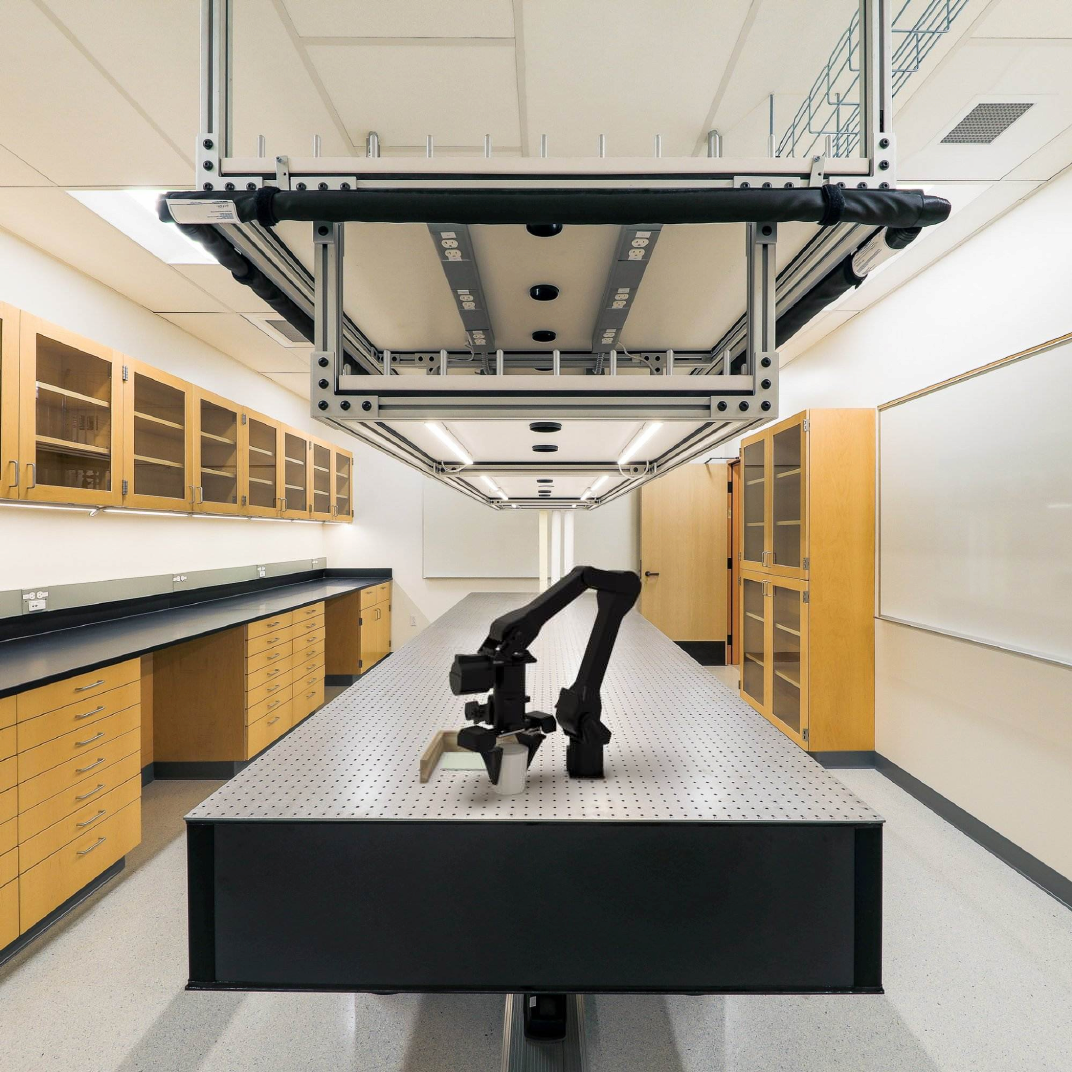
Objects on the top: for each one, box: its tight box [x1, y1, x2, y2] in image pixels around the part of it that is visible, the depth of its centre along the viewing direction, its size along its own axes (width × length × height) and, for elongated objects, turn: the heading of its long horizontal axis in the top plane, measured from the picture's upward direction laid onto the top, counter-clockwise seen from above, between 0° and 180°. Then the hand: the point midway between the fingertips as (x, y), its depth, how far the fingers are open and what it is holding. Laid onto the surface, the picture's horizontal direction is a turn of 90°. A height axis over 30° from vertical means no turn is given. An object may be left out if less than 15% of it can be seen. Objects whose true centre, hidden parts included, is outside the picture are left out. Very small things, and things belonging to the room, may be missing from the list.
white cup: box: [491, 743, 528, 796], centre depth 104 cm, size 7×7×7 cm
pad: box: [440, 752, 487, 772], centre depth 117 cm, size 9×9×1 cm
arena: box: [419, 729, 518, 784], centre depth 115 cm, size 18×18×4 cm
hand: (508, 779), depth 104 cm, fingers closed on white cup, 6 cm apart
